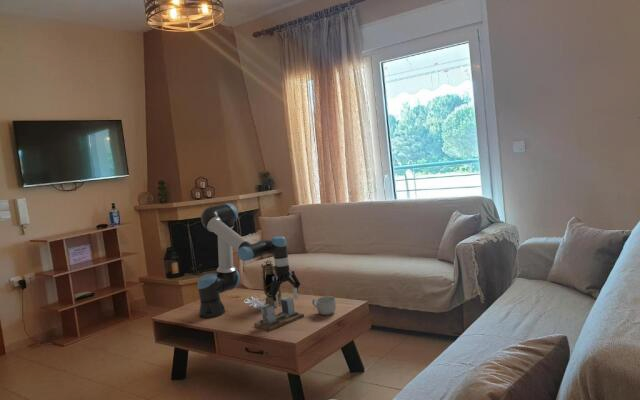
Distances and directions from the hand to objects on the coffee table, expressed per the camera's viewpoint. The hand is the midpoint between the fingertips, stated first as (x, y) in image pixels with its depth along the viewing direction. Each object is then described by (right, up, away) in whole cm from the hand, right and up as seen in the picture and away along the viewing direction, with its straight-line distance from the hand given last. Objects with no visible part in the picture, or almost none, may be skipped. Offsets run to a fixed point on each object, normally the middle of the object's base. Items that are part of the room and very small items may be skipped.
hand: (286, 302), depth 258 cm
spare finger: (+1, -7, 0) cm, 7 cm away
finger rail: (-4, -9, -4) cm, 11 cm away
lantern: (-9, -7, +27) cm, 30 cm away
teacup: (+21, -6, +1) cm, 22 cm away
